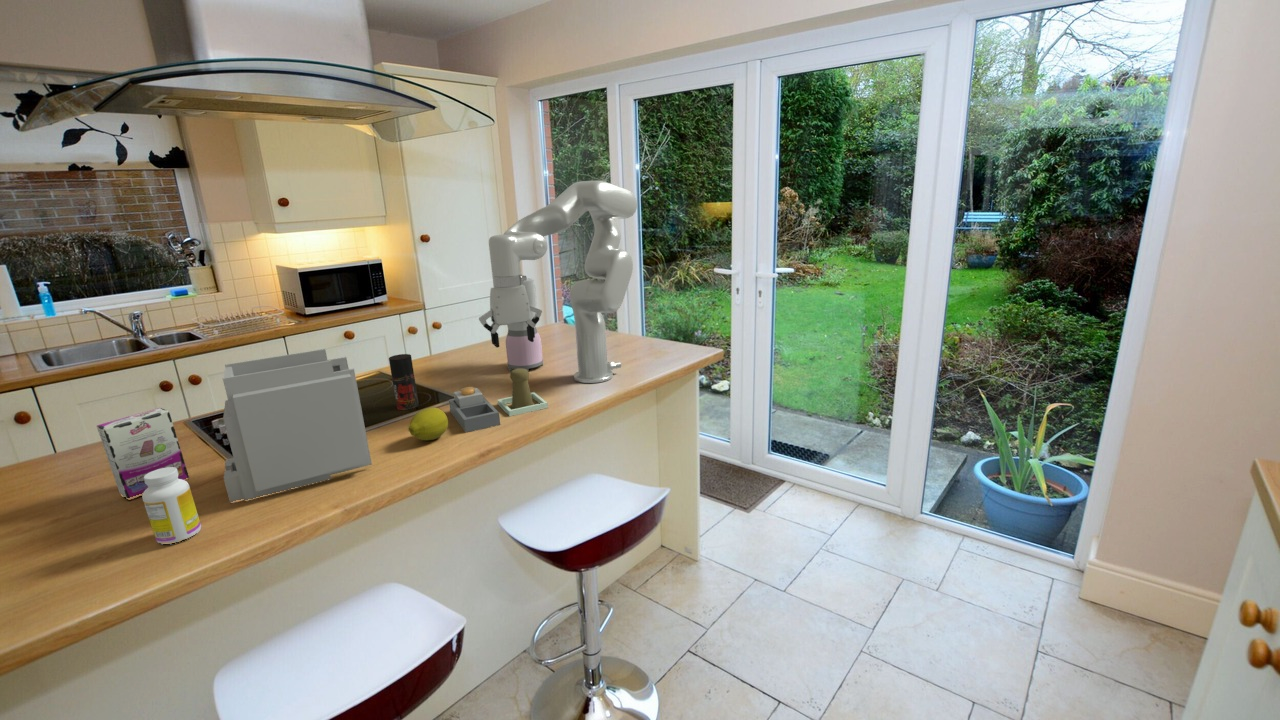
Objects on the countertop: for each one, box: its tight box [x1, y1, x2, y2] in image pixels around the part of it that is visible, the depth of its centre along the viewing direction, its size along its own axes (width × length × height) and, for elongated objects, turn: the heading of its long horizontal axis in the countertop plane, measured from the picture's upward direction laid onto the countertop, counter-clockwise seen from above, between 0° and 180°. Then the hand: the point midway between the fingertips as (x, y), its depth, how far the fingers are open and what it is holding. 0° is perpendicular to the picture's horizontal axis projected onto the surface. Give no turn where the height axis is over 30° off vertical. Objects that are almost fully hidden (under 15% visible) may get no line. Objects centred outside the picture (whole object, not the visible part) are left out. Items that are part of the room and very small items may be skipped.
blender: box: [505, 274, 544, 373], centre depth 199 cm, size 16×12×32 cm
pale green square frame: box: [497, 391, 549, 417], centre depth 164 cm, size 11×11×2 cm
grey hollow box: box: [448, 395, 501, 433], centre depth 157 cm, size 18×9×4 cm, turn 30°
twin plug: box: [453, 386, 484, 408], centre depth 160 cm, size 6×6×7 cm
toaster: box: [222, 348, 373, 503], centre depth 124 cm, size 17×27×26 cm, turn 123°
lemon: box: [408, 407, 449, 441], centre depth 143 cm, size 11×8×8 cm
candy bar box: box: [96, 407, 190, 498], centre depth 123 cm, size 11×5×16 cm, turn 148°
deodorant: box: [388, 353, 419, 411], centre depth 166 cm, size 6×6×15 cm
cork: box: [509, 368, 534, 410], centre depth 163 cm, size 6×6×11 cm
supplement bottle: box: [141, 467, 202, 544], centre depth 104 cm, size 7×7×13 cm
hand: (514, 343), depth 160 cm, fingers open, 9 cm apart
